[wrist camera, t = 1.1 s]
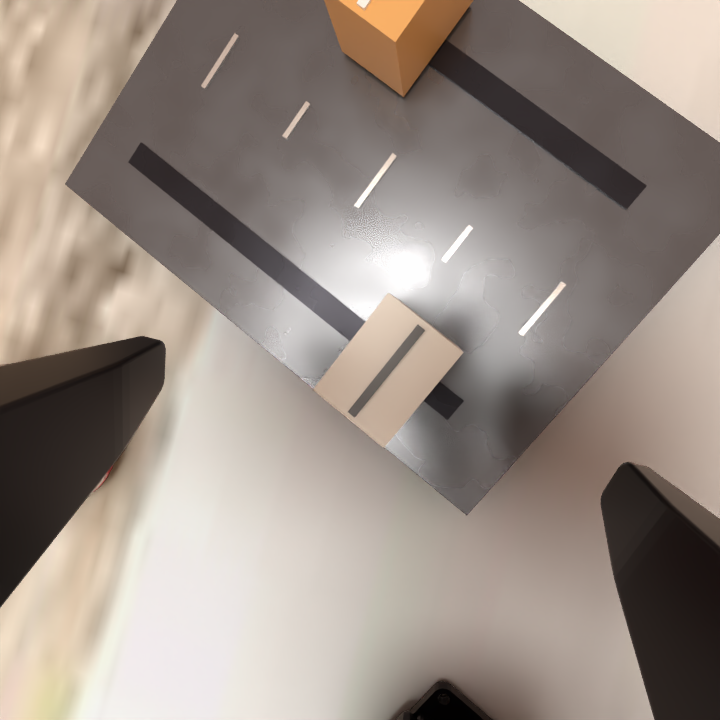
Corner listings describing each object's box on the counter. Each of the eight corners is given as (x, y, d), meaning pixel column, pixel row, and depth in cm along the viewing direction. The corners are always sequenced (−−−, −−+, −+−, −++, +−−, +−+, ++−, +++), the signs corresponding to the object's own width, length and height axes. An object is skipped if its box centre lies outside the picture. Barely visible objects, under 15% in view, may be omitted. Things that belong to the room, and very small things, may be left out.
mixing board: (741, 190, 18) (772, 177, 16) (464, 501, 20) (467, 516, 19) (292, -131, 19) (279, -172, 18) (90, 193, 22) (63, 183, 20)
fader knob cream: (458, 346, 18) (463, 352, 14) (393, 425, 19) (383, 449, 15) (397, 298, 18) (387, 292, 15) (335, 377, 19) (311, 390, 15)
